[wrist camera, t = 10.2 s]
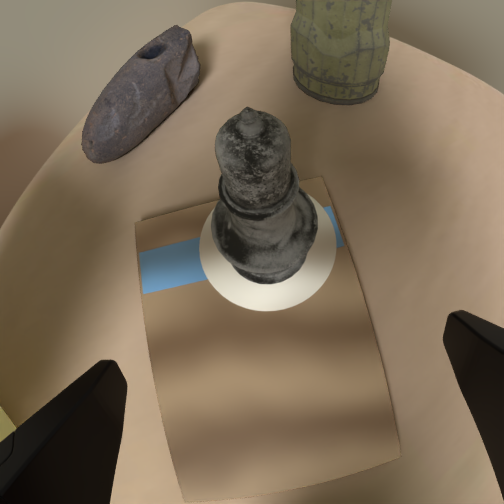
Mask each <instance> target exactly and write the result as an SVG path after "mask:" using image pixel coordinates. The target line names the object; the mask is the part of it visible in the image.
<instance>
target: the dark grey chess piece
mask: <svg viewBox="0 0 504 504" xmlns="http://www.w3.org/2000/svg"><path fill="white" fill-rule="evenodd" d="M215 152H216V157H217V160H218V163H219V167H220V170H221V173H222V174H221V176H220V179H219V186H218V189H219V195H220V199H219V201H218V202H217V204H216V206H215V209H214V211H213V213H212V220H211V231H212V238H213V240H214V243H215V245H216V247H217V249H218V251H219V252H220V253H221V254H222V255H223V257H224V258H225V259H226V260H227V261H228V262H230V263H231V264H232V266H233V268H234V269H235V270H236V271H237V272H238V273H239V275H241V276H242V277H244V278H245V279H247V280H249V281H251V282H254V283H258V284H275V283H280V282H283V281H285V280H287V279H289V278H291V277H292V276H293V275H294V274H295V273H297V272H298V271H299V270H300V268H301V267H302V265H303V264H304V262H305V260H306V256H307V253H308V251H309V250H310V248H311V247H312V245H313V243H314V241H315V238H316V234H317V230H318V215H317V212H316V209H315V206H314V203H313V202H312V200H311V199H310V197H309V196H308V194H307V193H306V192H305V191H304V190H302V189H301V188H300V187H299V177H298V174H297V171H296V169H295V168H294V166H293V165H292V163H291V139H290V136H289V133H288V131H287V128H286V126H285V125H284V124H283V123H282V122H281V121H280V120H279V119H277V118H276V117H274V116H273V115H271V114H268V113H266V112H261V111H255V110H253V109H252V108H249V107H246V108H245V109H243V110H242V111H241V112H240V114H237V115H235V116H233V117H232V118H230V119H229V120H228V121H227V122H226V123H225V124H224V125H223V126H222V127H221V128H220V130H219V132H218V134H217V136H216V141H215Z"/></svg>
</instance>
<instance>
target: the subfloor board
mask: <svg viewBox="0 0 504 504" xmlns="http://www.w3.org/2000/svg"><path fill="white" fill-rule="evenodd" d="M299 187H300V188H301V189H302V190H304V191H305V192H306V193H307V194H308V196H309V197H310V199H311V200H312V202H313V203H314V206H315V209H316V212H317V215H318V230H317V234H316V238H315V241H314V243H313V245H312V247H311V248H310V250H309V251H308V253H307V256H306V260H305V262H304V264H303V265H302V267H301V268H300V270H299V271H298V272H297V273H295V274H294V275H293V276H292V277H291V278H289V279H287V280H285V281H283V282H280V283H275V284H258V283H254V282H251V281H249V280H247V279H245V278H244V277H242V276H241V275H239V273H238V272H237V271H236V270H235V269H234V268H233V266H232V264H231V263H230V262H228V261H227V260H226V259H225V258H224V257H223V255H222V254H221V253H220V252H219V251H218V249H217V247H216V245H215V243H214V240H213V238H212V231H211V220H212V213H213V211H214V209H215V206H216V204H217V202H218V201H219V200H216V201H213V202H209V203H205V204H201V205H197V206H193V207H190V208H186V209H182V210H179V211H175V212H171V213H168V214H164V215H161V216H157V217H153V218H150V219H146V220H143V221H140V222H136V223H135V234H136V248H137V261H138V271H139V281H140V291H141V299H142V308H143V315H144V323H145V330H146V336H147V343H148V349H149V355H150V361H151V367H152V373H153V378H154V383H155V388H156V393H157V398H158V403H159V408H160V412H161V417H162V421H163V426H164V430H165V434H166V438H167V442H168V446H169V450H170V454H171V458H172V461H173V465H174V469H175V472H176V476H177V479H178V483H179V486H180V489H181V492H182V496H183V499H184V502H204V501H218V500H229V499H238V498H246V497H254V496H261V495H267V494H273V493H278V492H284V491H289V490H294V489H299V488H303V487H307V486H312V485H316V484H320V483H324V482H328V481H331V480H335V479H339V478H342V477H345V476H349V475H352V474H355V473H358V472H361V471H364V470H367V469H370V468H373V467H376V466H379V465H382V464H384V463H387V462H390V461H392V460H395V459H397V458H400V457H401V451H400V446H399V440H398V435H397V429H396V424H395V419H394V414H393V410H392V405H391V400H390V396H389V391H388V387H387V382H386V378H385V374H384V370H383V366H382V362H381V358H380V354H379V350H378V346H377V342H376V339H375V335H374V331H373V328H372V324H371V320H370V317H369V313H368V310H367V307H366V303H365V300H364V296H363V293H362V290H361V287H360V283H359V280H358V277H357V274H356V271H355V268H354V265H353V262H352V258H351V255H350V252H349V249H348V247H347V244H346V241H345V238H344V235H343V232H342V229H341V226H340V224H339V221H338V218H337V215H336V213H335V210H334V207H333V204H332V202H331V199H330V196H329V194H328V191H327V189H326V186H325V183H324V181H323V178H322V176H320V177H316V178H311V179H306V180H301V181H299Z"/></svg>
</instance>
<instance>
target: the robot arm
mask: <svg viewBox="0 0 504 504" xmlns="http://www.w3.org/2000/svg"><path fill="white" fill-rule="evenodd" d="M443 343H444V346H445V349H446V352H447V354H448V357H449V359H450V362H451V365H452V368H453V370H454V373H455V376H456V379H457V382H458V384H459V387H460V389H461V392H462V394H463V396H464V398H465V400H466V403H467V405H468V407H469V409H470V412H471V414H472V416H473V418H474V421H475V423H476V425H477V428H478V430H479V433H480V435H481V438H482V440H483V443H484V445H485V448H486V450H487V453H488V456H489V458H490V461H491V464H492V467H493V469H494V472H495V475H496V478H497V481H498V484H499V487H500V490H501V493H502V497H503V500H504V328H502V327H499V326H497V325H495V324H493V323H491V322H488V321H486V320H484V319H482V318H480V317H477V316H475V315H473V314H471V313H468V312H466V311H464V310H459V311H455V312H452V313H450V314H449V315H448V318H447V322H446V327H445V331H444V335H443ZM126 396H127V382H126V379H125V377H124V376H123V374H122V372H121V370H120V368H119V366H118V364H117V363H116V362H115V361H114V360H100V361H99V362H97V363H96V364H95V365H94V366H93V367H91V368H90V369H89V370H88V371H86V372H85V373H84V374H83V375H81V376H80V377H79V378H78V379H76V380H75V381H74V382H73V383H72V384H70V385H69V386H68V387H67V388H65V389H64V390H63V391H62V392H61V393H59V394H58V395H57V396H56V397H54V398H53V399H52V400H51V401H50V402H48V403H47V404H46V405H45V406H43V407H42V408H41V409H40V410H39V411H37V412H36V413H35V414H34V415H32V416H31V417H30V418H29V419H28V420H26V421H25V422H24V423H23V424H22V425H20V426H19V427H18V428H17V429H16V430H15V431H13V432H12V433H11V434H9V435H8V436H7V437H6V438H5V439H3V440H2V441H1V442H0V504H110V499H111V493H112V487H113V481H114V475H115V470H116V464H117V459H118V454H119V449H120V444H121V438H122V432H123V424H124V414H125V405H126Z"/></svg>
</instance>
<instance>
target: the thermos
mask: <svg viewBox="0 0 504 504" xmlns="http://www.w3.org/2000/svg"><path fill="white" fill-rule="evenodd" d="M391 3H392V0H296V13H295V16H294V18H293V21H292V23H291V56H292V60H293V62H294V66H293V77H294V81H295V82H296V84H297V86H298V87H299V88H300V89H301V90H302V91H304V92H305V93H306V94H307V95H309V96H312V97H314V98H316V99H318V100H320V101H324V102H328V103H332V104H341V105H352V104H359V103H363V102H365V101H367V100H369V99H371V98H372V97H373V96H374V95H375V94H376V93H377V90H378V85H379V78H380V76H381V75H382V74H383V72H384V68H385V64H386V60H387V56H388V51H389V45H390V40H389V32H388V19H389V14H390V8H391Z"/></svg>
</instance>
